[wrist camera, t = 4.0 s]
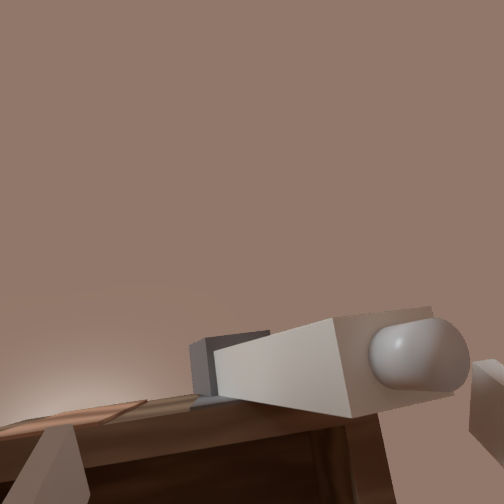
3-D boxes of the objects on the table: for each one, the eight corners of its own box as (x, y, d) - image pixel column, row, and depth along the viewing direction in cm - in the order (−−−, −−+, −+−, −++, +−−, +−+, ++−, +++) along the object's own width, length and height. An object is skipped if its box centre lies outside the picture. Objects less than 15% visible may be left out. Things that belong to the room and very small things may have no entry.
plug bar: (521, 395, 11) (480, 262, 12) (379, 429, 10) (345, 272, 11) (248, 383, 35) (242, 338, 36) (193, 393, 33) (189, 345, 34)
